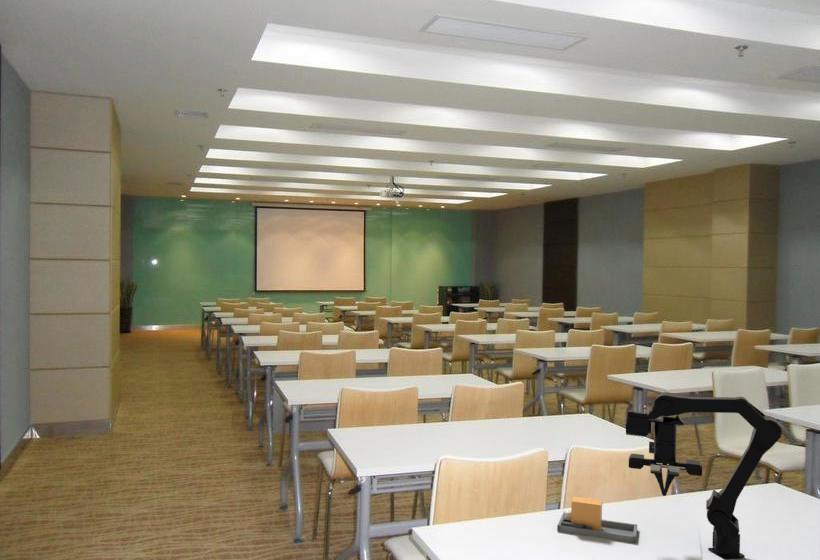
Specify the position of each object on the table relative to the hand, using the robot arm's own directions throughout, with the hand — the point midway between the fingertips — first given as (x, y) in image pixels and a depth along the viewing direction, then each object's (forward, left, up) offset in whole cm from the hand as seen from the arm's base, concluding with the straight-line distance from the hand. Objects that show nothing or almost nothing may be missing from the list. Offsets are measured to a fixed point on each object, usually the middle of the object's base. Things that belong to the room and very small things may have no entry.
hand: (664, 495), depth 182 cm
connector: (+12, +17, -12) cm, 24 cm away
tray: (+10, +15, -13) cm, 22 cm away
